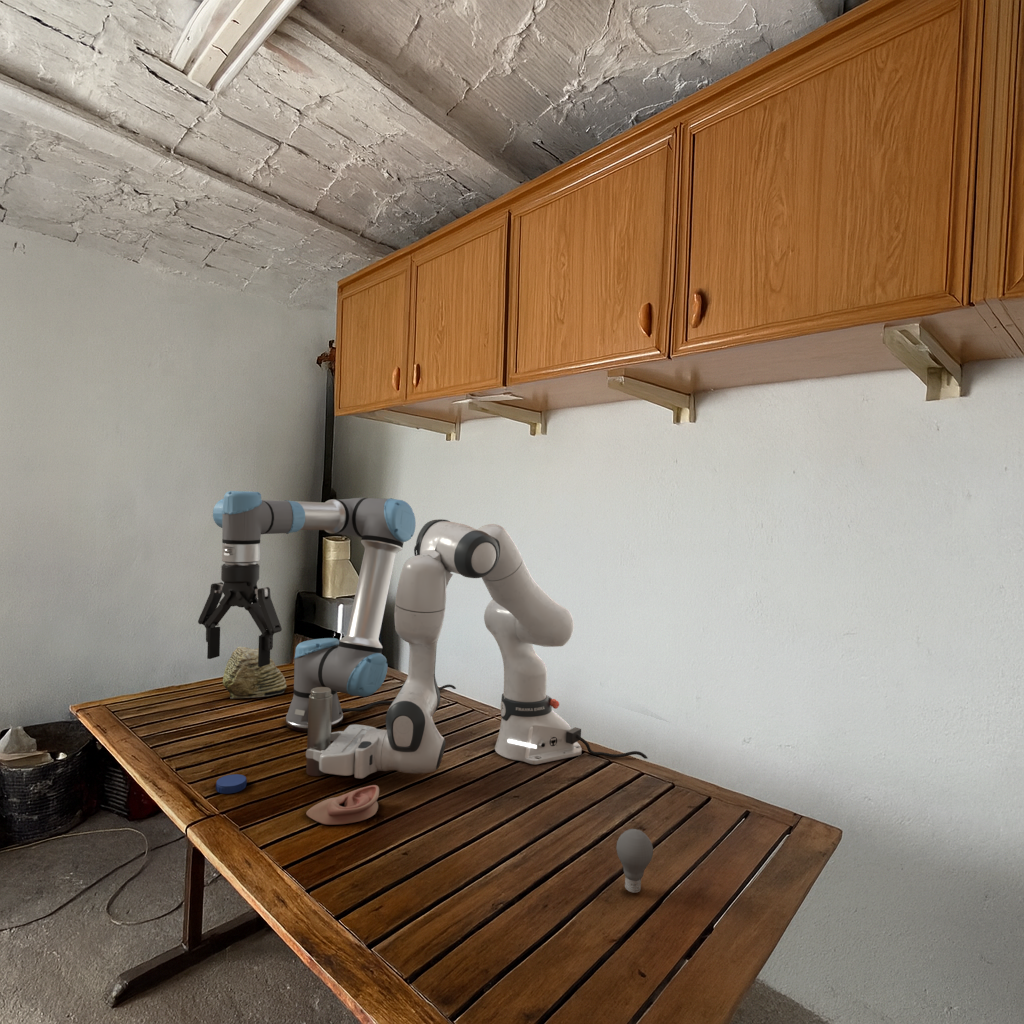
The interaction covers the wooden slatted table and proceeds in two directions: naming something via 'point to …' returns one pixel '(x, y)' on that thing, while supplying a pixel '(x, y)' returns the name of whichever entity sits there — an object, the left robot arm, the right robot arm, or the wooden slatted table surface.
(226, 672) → the fossil
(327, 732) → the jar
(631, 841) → the light bulb
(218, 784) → the lid
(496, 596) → the right robot arm
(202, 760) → the wooden slatted table surface
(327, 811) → the anatomical model
